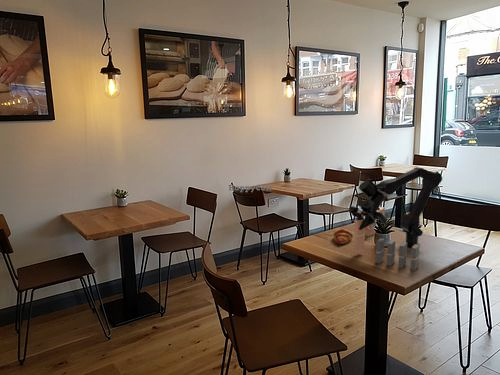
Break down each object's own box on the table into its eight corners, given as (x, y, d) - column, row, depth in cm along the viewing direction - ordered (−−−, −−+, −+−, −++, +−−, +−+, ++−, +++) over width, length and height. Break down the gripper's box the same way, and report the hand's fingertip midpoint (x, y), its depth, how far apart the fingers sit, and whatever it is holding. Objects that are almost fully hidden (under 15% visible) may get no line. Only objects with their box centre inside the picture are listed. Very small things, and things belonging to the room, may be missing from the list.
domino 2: (379, 259, 176) (380, 238, 175) (383, 260, 175) (384, 238, 174) (375, 262, 172) (376, 241, 170) (379, 263, 171) (380, 242, 169)
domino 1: (361, 247, 185) (362, 219, 183) (364, 248, 184) (365, 220, 181) (353, 249, 182) (354, 221, 180) (356, 250, 181) (357, 221, 178)
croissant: (339, 239, 216) (332, 227, 217) (355, 232, 213) (349, 220, 213) (334, 251, 197) (327, 237, 197) (353, 244, 193) (345, 229, 193)
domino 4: (401, 263, 170) (402, 242, 169) (406, 264, 169) (407, 242, 168) (398, 267, 166) (399, 245, 165) (402, 268, 165) (403, 246, 163)
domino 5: (413, 266, 167) (414, 244, 166) (418, 267, 166) (419, 244, 165) (410, 270, 163) (411, 247, 162) (414, 271, 162) (416, 248, 160)
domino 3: (390, 261, 173) (391, 240, 172) (394, 262, 172) (395, 240, 171) (386, 265, 169) (387, 243, 168) (390, 265, 168) (391, 244, 166)
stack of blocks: (371, 236, 210) (372, 214, 207) (360, 234, 213) (360, 213, 211) (384, 227, 226) (385, 207, 224) (373, 225, 230) (374, 205, 228)
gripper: (351, 189, 188) (334, 215, 184) (383, 195, 173) (365, 223, 169) (362, 203, 194) (346, 228, 190) (393, 210, 178) (377, 237, 174)
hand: (357, 229), depth 180 cm, fingers closed on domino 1, 2 cm apart
